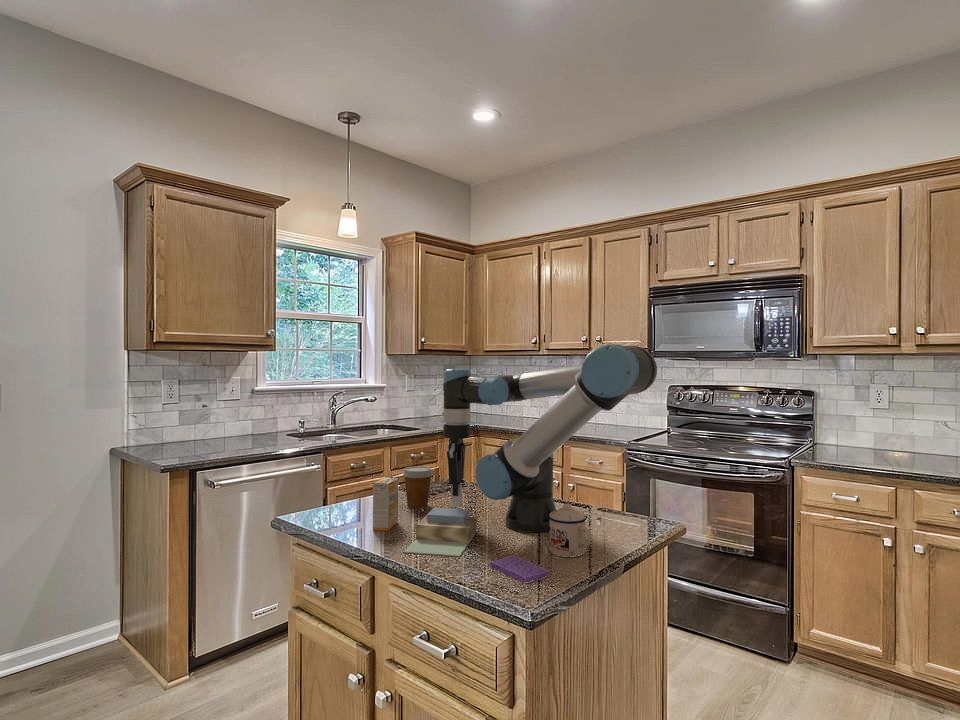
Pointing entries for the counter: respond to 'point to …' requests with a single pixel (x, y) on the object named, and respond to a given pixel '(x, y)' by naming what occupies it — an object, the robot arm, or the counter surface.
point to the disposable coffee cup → (417, 486)
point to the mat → (437, 548)
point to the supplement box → (385, 503)
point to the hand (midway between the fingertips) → (456, 506)
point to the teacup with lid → (568, 532)
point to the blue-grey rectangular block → (448, 516)
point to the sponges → (519, 568)
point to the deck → (446, 531)
